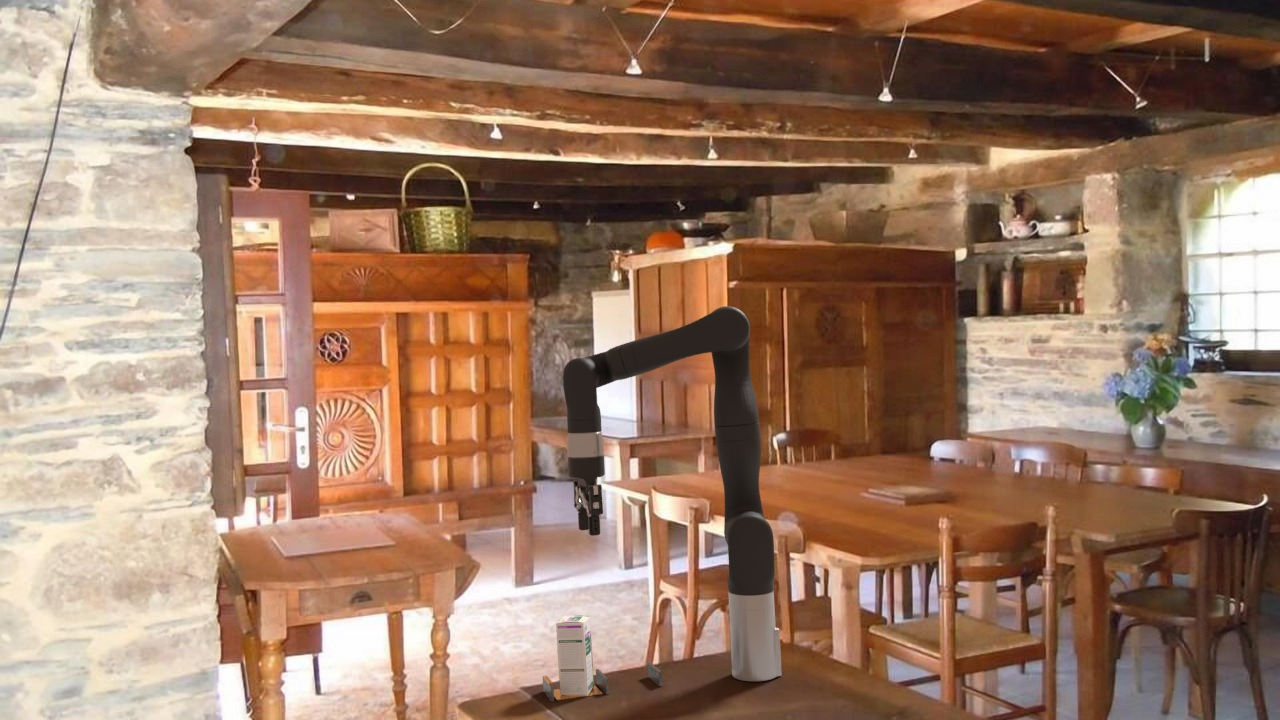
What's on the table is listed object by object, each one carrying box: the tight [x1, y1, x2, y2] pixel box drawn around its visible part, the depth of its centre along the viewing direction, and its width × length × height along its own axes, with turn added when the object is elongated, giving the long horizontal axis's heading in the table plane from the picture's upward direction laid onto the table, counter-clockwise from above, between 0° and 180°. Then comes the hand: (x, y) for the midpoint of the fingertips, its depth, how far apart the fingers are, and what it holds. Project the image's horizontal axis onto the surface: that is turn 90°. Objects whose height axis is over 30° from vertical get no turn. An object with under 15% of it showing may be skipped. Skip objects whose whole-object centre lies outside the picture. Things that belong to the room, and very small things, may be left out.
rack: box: [542, 661, 663, 703], centre depth 214 cm, size 23×8×3 cm, turn 108°
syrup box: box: [555, 614, 595, 697], centre depth 213 cm, size 6×6×14 cm
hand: (589, 532), depth 222 cm, fingers open, 8 cm apart
